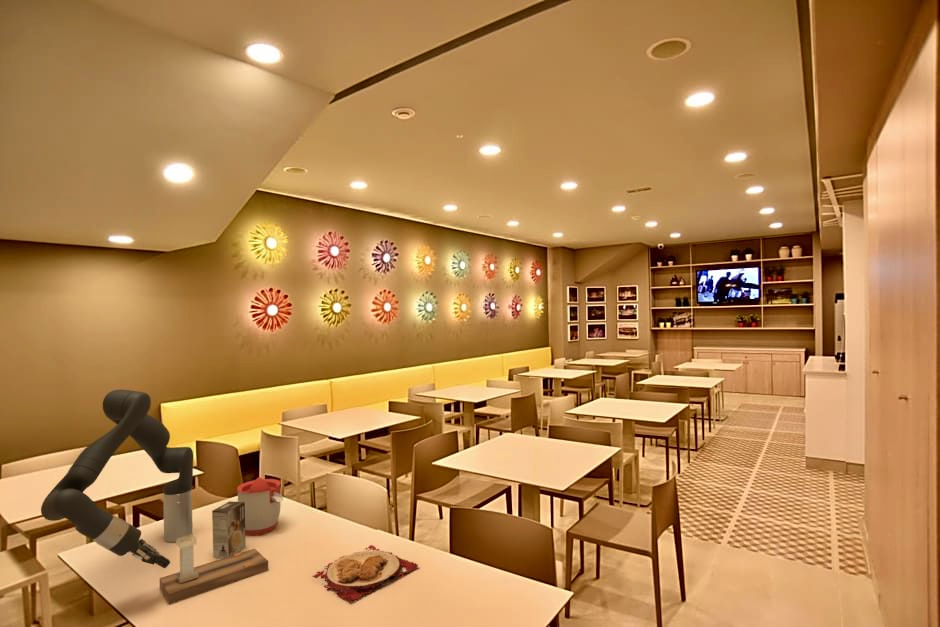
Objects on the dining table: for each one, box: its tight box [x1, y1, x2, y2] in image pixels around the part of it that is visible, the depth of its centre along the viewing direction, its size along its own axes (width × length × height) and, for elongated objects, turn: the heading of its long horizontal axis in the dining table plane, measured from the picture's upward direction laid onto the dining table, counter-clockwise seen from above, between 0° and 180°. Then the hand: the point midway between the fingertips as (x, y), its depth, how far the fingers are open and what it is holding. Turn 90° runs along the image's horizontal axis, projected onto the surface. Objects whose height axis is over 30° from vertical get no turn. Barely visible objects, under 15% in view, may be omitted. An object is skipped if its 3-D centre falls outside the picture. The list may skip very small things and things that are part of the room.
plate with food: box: [312, 545, 419, 602], centre depth 161 cm, size 25×26×4 cm
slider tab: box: [175, 533, 198, 583], centre depth 153 cm, size 5×5×12 cm
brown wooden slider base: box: [159, 548, 269, 605], centre depth 158 cm, size 12×28×3 cm, turn 132°
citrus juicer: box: [236, 477, 284, 536], centre depth 194 cm, size 16×17×20 cm
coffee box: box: [211, 500, 247, 559], centre depth 176 cm, size 9×6×16 cm
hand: (167, 564), depth 149 cm, fingers closed
